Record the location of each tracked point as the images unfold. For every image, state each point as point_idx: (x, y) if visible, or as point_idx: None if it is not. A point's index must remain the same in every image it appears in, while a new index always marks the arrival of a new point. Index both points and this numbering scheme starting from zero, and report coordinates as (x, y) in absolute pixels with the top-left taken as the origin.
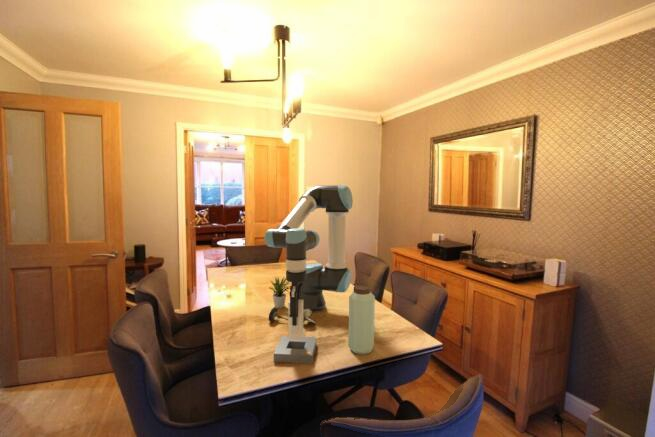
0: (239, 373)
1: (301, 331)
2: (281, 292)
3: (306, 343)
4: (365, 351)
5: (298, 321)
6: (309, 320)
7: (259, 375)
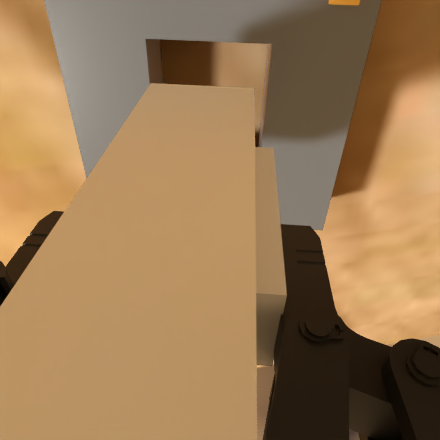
0: (394, 303)
1: (254, 123)
2: None
3: (171, 27)
4: None
5: (269, 231)
6: None
7: (434, 239)
